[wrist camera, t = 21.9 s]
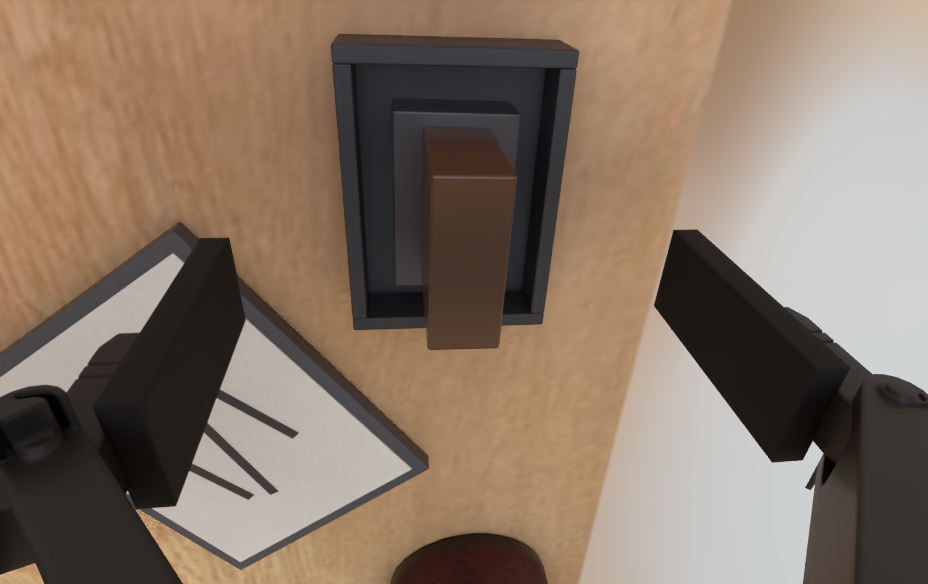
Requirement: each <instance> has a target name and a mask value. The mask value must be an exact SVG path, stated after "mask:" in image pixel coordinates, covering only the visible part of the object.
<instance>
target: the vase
mask: <svg viewBox="0 0 928 584" xmlns="http://www.w3.org/2000/svg"><path fill="white" fill-rule="evenodd" d="M391 584H548V583H547V579H546V575H545V571H544V567H543V565H542V563H541V561H540V559H539V557H538V556H537V554H536V553H535V552H534V551H533V550H532V549H530V548H529V547H528V546H526V545H524V544H522V543H520V542H518V541H515V540H512V539H509V538H505V537H500V536H493V535H468V536H460V537H455V538H450V539H446V540H443V541H440V542H436V543H434V544H431V545H429V546H427V547H425V548H423V549H421V550H419V551H417V552H416V553H414V554H413V555H411V556H410V557H409V558H408V559H406V560H405V561H404V562H403V563H402V564H401V565H400V566H399V567H398V569H397V571H396V572H395V574H394V576H393V578H392V581H391Z"/></svg>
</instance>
